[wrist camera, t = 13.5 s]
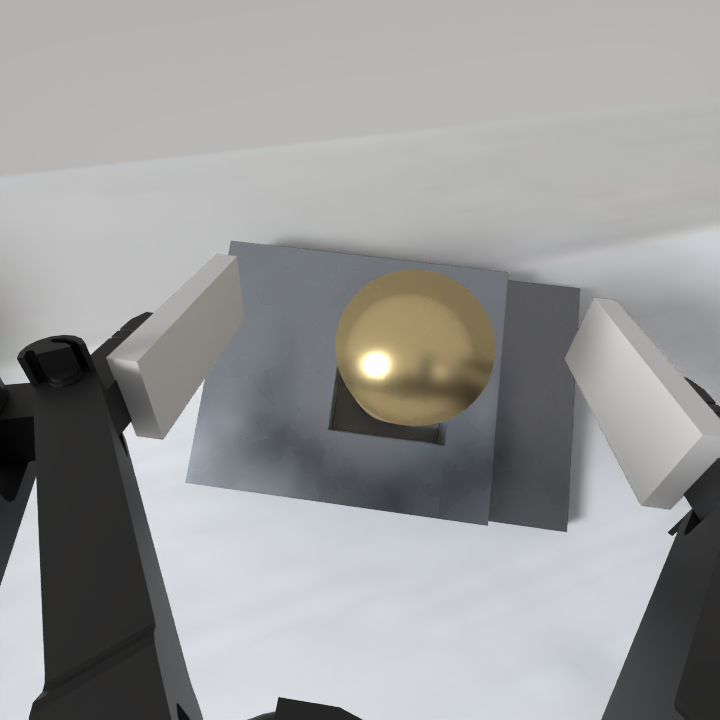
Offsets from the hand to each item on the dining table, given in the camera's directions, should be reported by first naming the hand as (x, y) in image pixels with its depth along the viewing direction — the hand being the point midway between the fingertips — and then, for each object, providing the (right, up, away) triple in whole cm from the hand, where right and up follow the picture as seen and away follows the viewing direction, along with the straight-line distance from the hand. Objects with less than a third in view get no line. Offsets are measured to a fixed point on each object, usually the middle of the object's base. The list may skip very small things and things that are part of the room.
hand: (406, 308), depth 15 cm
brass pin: (0, -3, +6) cm, 7 cm away
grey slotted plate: (-2, -3, +6) cm, 7 cm away
